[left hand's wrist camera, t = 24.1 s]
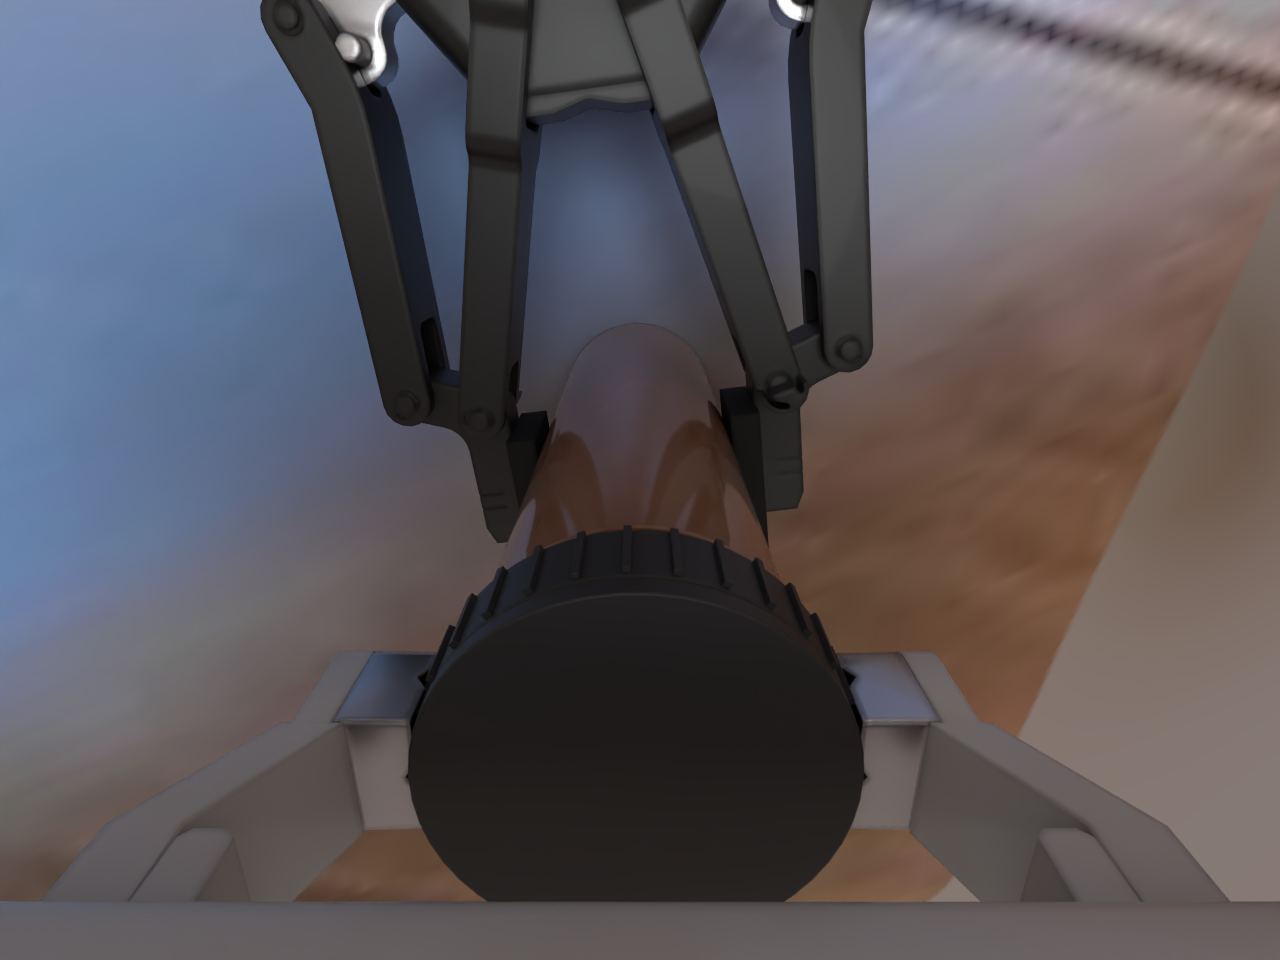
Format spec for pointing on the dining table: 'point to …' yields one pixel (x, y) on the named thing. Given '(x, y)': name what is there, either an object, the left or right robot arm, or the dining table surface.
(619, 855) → the lid
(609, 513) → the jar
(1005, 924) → the left robot arm
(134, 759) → the dining table surface
